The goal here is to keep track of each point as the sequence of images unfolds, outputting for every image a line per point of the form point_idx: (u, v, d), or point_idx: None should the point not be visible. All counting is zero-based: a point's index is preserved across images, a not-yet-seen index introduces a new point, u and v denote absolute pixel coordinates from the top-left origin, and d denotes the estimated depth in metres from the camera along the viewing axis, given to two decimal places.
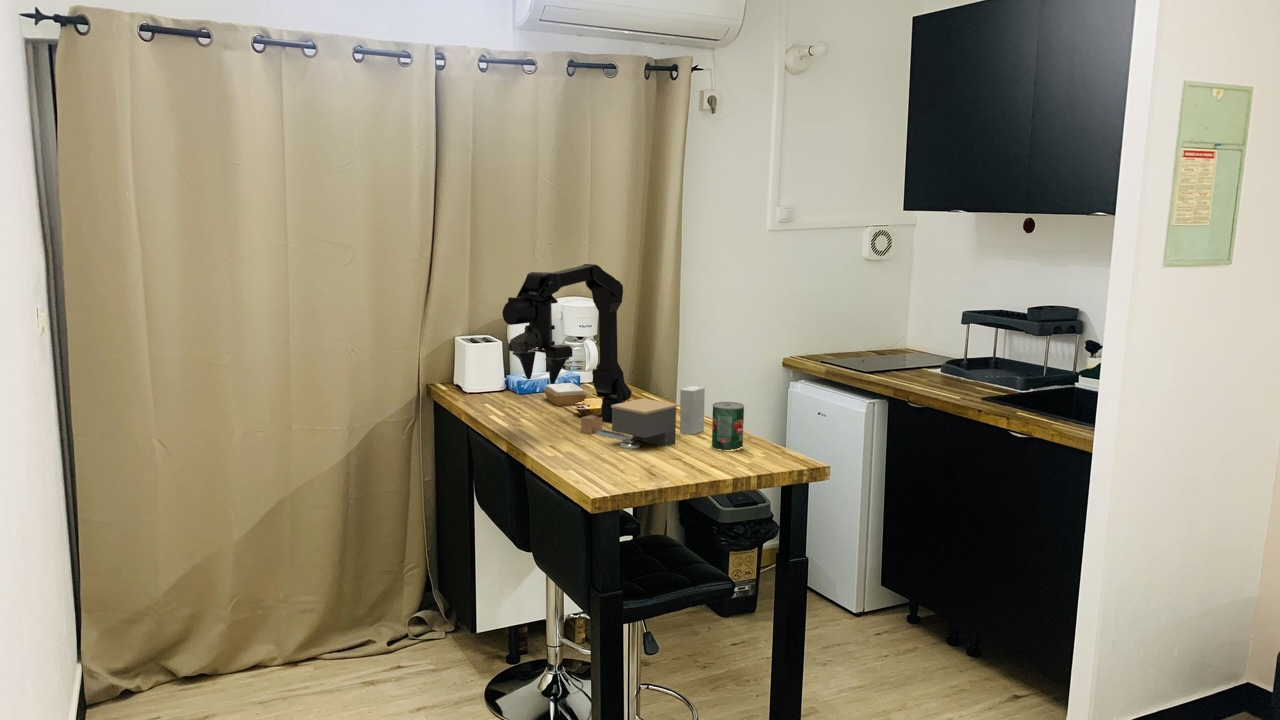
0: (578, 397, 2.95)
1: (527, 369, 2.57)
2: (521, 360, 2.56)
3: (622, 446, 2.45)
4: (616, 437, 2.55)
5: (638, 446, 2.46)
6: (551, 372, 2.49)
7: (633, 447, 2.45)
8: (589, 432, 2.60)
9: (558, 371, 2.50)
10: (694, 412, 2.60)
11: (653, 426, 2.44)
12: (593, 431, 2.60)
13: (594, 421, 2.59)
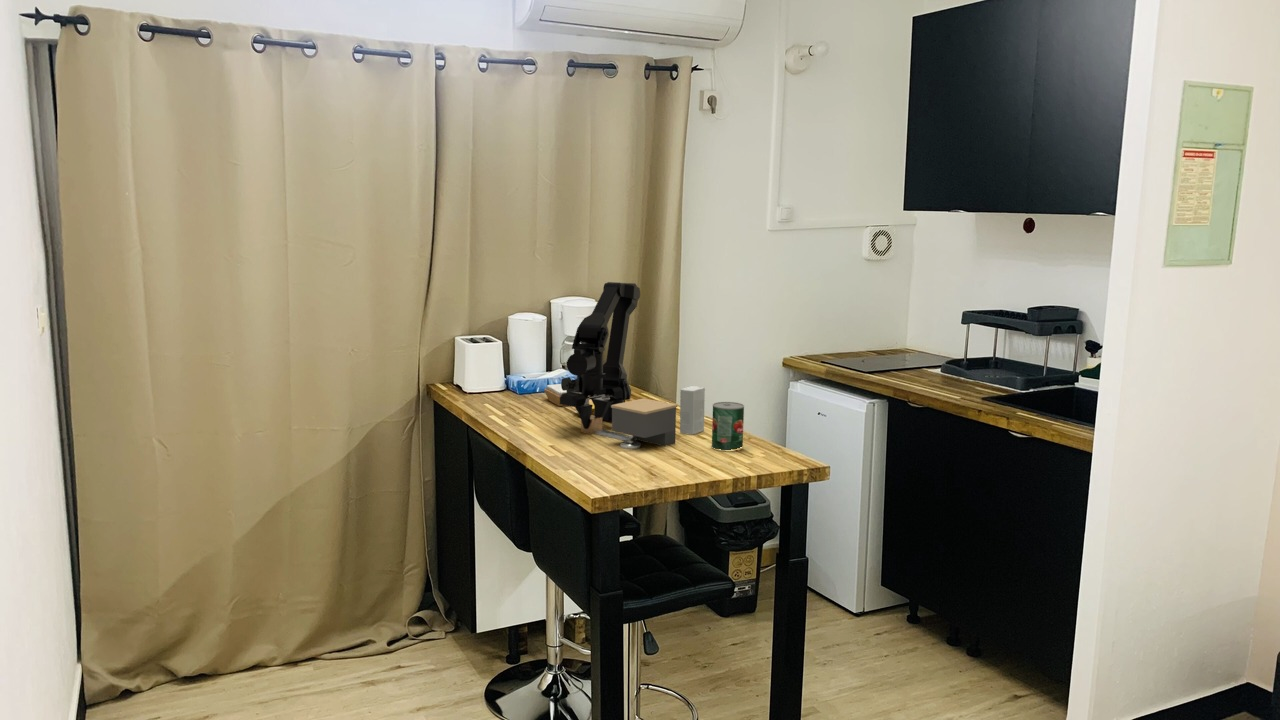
0: None
1: None
2: None
3: (622, 446, 2.45)
4: (616, 437, 2.55)
5: (638, 446, 2.46)
6: None
7: (633, 447, 2.45)
8: (589, 432, 2.60)
9: (585, 418, 2.58)
10: (694, 412, 2.60)
11: (653, 426, 2.44)
12: (593, 431, 2.60)
13: (594, 421, 2.59)
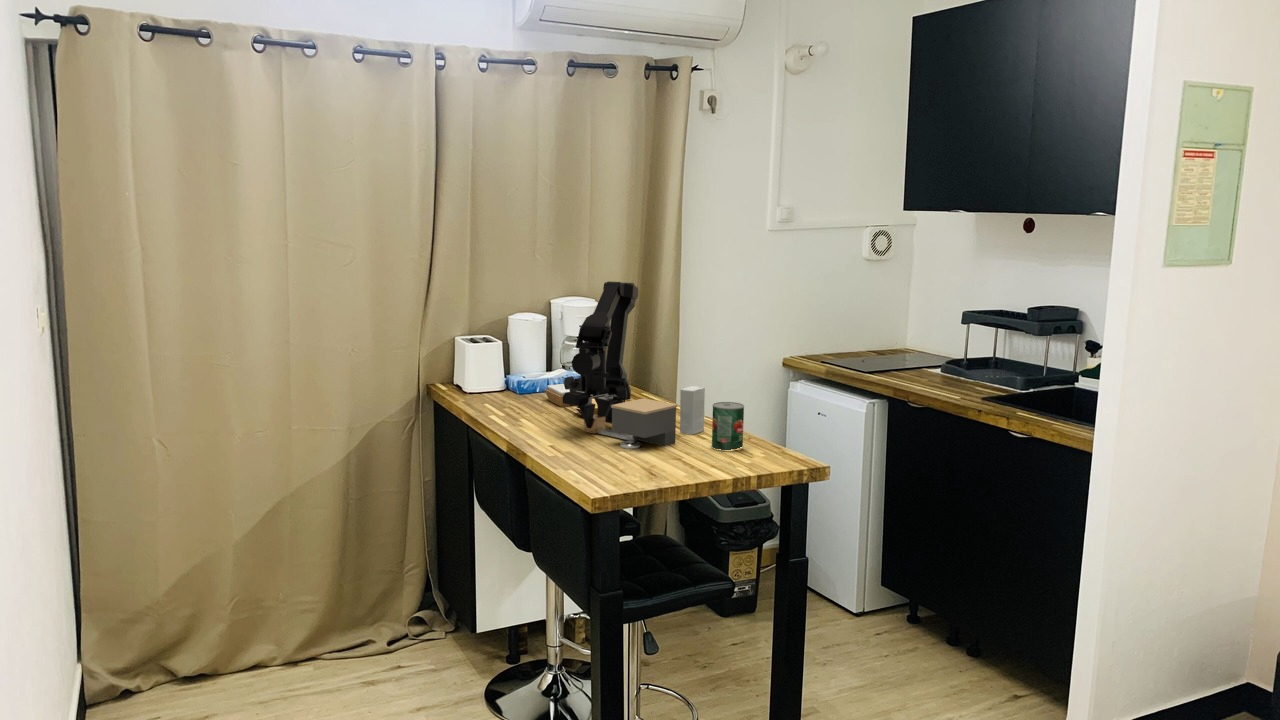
0: None
1: None
2: None
3: (622, 446, 2.45)
4: (619, 436, 2.54)
5: (638, 446, 2.46)
6: None
7: (633, 447, 2.45)
8: (592, 431, 2.59)
9: (588, 417, 2.57)
10: (694, 412, 2.60)
11: (653, 426, 2.44)
12: (596, 430, 2.59)
13: (597, 420, 2.59)
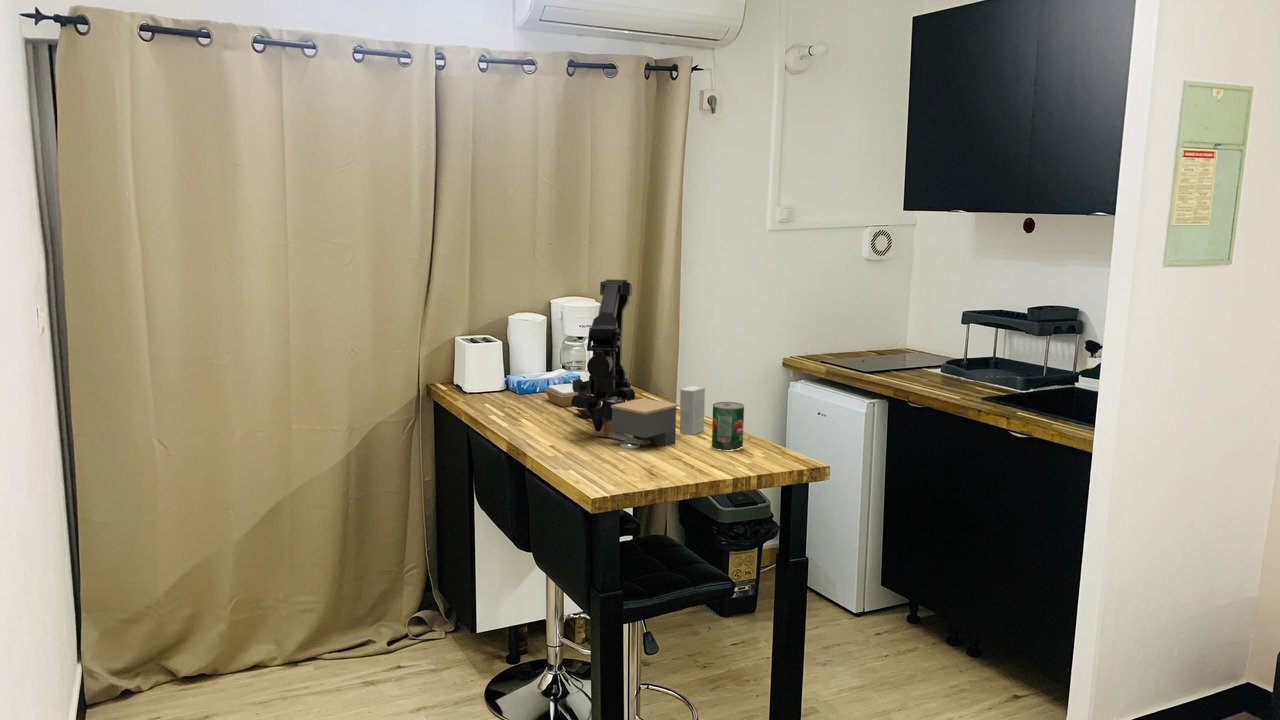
0: None
1: (609, 418, 2.59)
2: None
3: (622, 446, 2.45)
4: (629, 440, 2.50)
5: (638, 446, 2.46)
6: None
7: (633, 447, 2.45)
8: (601, 435, 2.55)
9: (597, 420, 2.54)
10: (694, 412, 2.60)
11: (653, 426, 2.44)
12: (605, 434, 2.55)
13: (606, 423, 2.55)
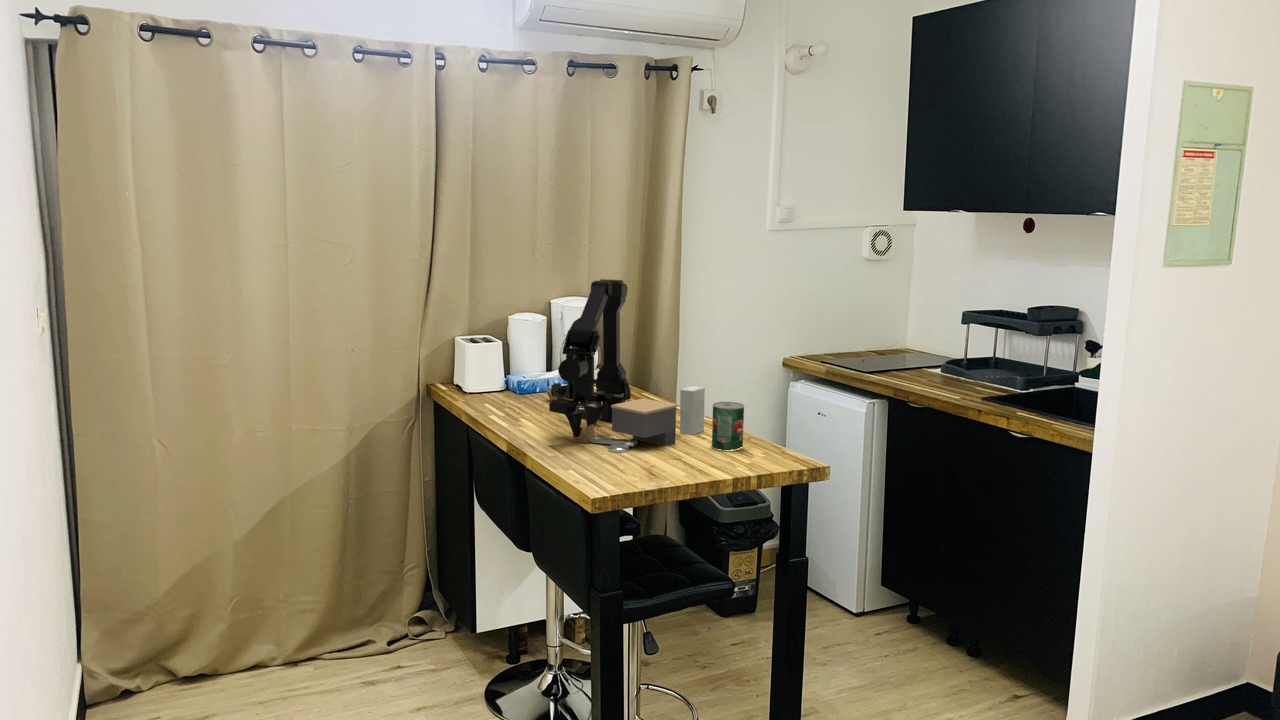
0: None
1: (589, 423, 2.53)
2: None
3: (610, 450, 2.41)
4: (615, 443, 2.46)
5: (627, 450, 2.42)
6: None
7: (622, 451, 2.41)
8: (583, 441, 2.49)
9: (575, 425, 2.48)
10: (694, 412, 2.60)
11: (653, 426, 2.44)
12: (587, 439, 2.49)
13: (587, 429, 2.49)
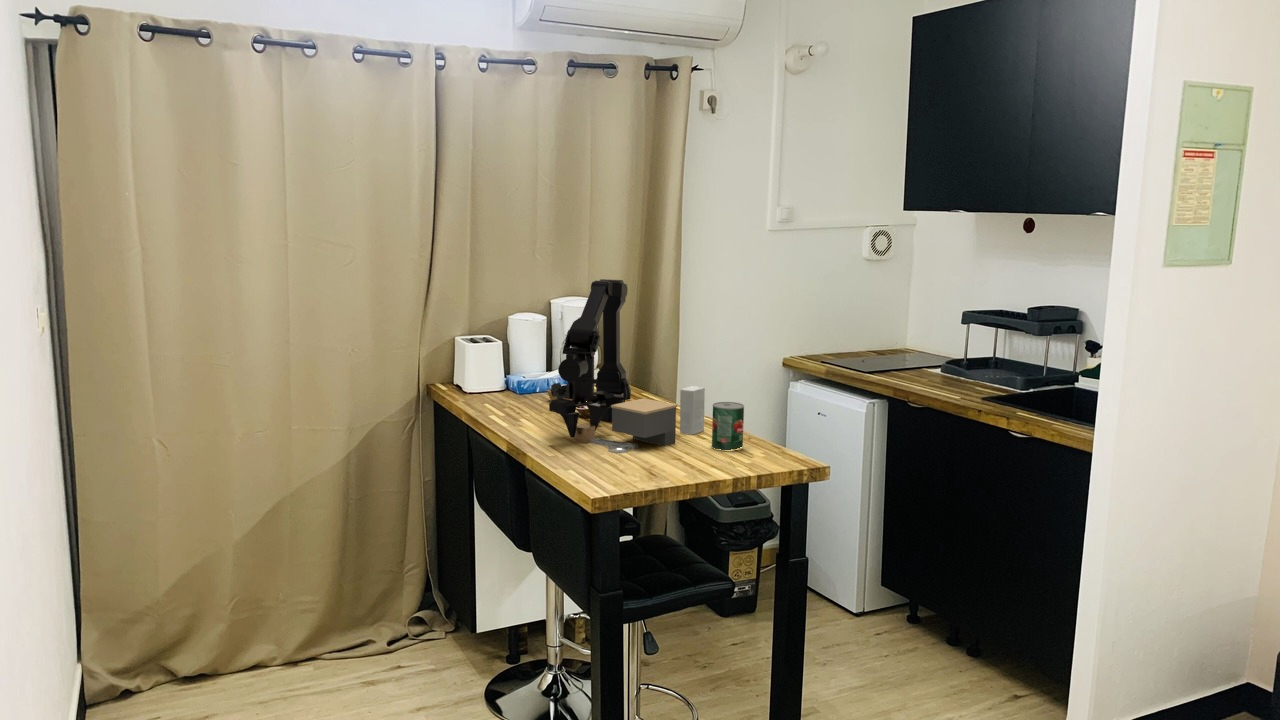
0: None
1: (592, 422, 2.54)
2: None
3: (610, 450, 2.41)
4: None
5: (627, 450, 2.42)
6: None
7: (622, 451, 2.41)
8: (584, 442, 2.49)
9: (572, 426, 2.47)
10: (694, 412, 2.60)
11: (653, 426, 2.44)
12: (588, 440, 2.50)
13: (588, 430, 2.49)
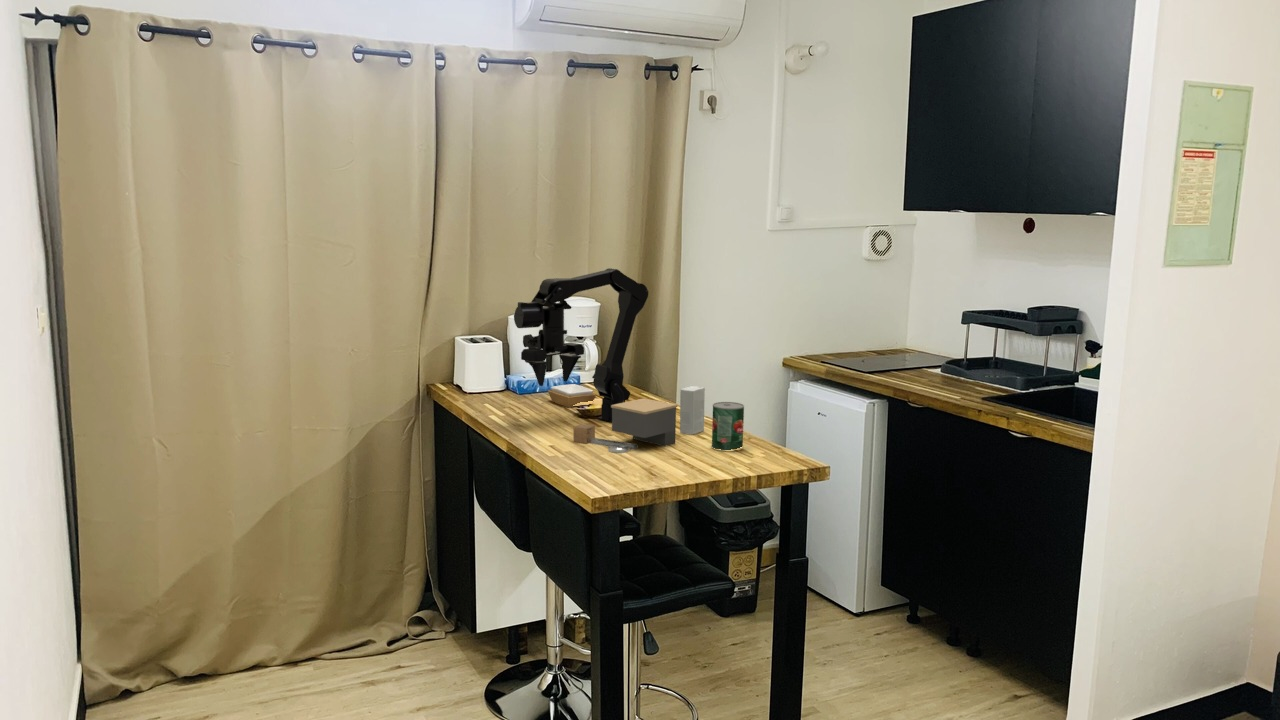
0: (589, 398, 2.94)
1: (565, 371, 2.68)
2: None
3: (610, 450, 2.41)
4: None
5: (627, 450, 2.42)
6: None
7: (622, 451, 2.41)
8: (584, 442, 2.49)
9: (540, 374, 2.60)
10: (694, 412, 2.60)
11: (653, 426, 2.44)
12: (588, 440, 2.50)
13: (588, 430, 2.49)
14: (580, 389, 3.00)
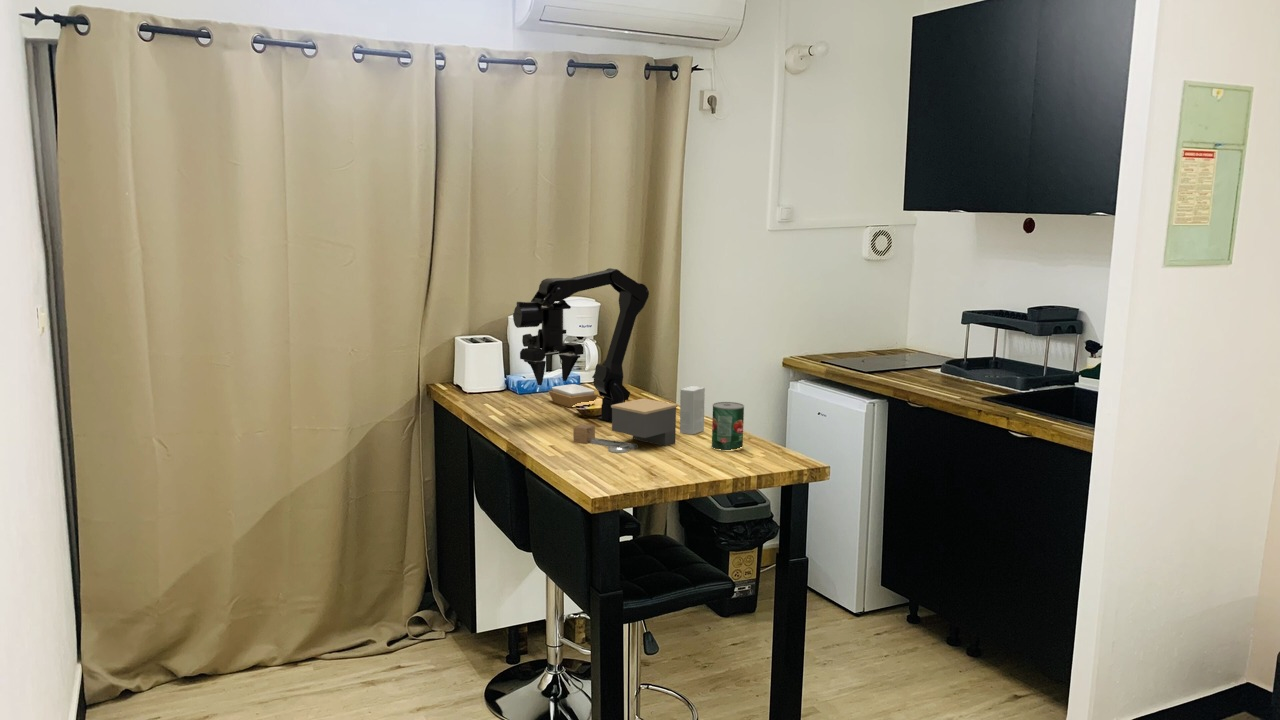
0: (590, 398, 2.94)
1: (564, 371, 2.69)
2: None
3: (611, 450, 2.41)
4: None
5: (627, 449, 2.42)
6: None
7: (622, 451, 2.41)
8: (584, 442, 2.49)
9: (539, 374, 2.60)
10: (694, 412, 2.60)
11: (653, 426, 2.44)
12: (588, 440, 2.50)
13: (588, 430, 2.49)
14: (581, 389, 3.00)
